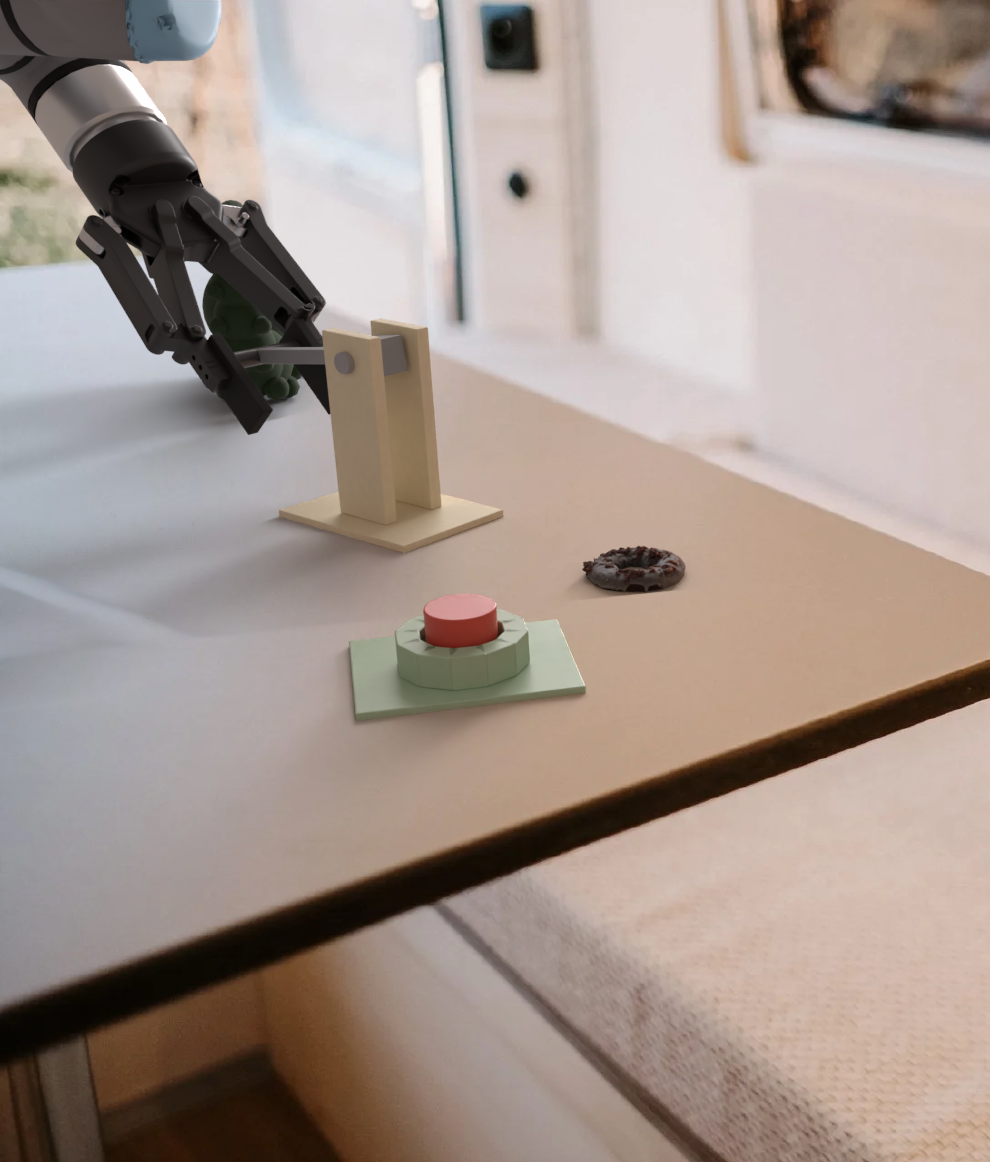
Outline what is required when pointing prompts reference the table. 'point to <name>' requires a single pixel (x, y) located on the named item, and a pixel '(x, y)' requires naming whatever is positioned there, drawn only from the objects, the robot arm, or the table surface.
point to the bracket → (385, 447)
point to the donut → (659, 573)
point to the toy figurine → (247, 333)
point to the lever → (321, 354)
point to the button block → (461, 669)
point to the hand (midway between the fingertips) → (301, 411)
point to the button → (460, 621)
